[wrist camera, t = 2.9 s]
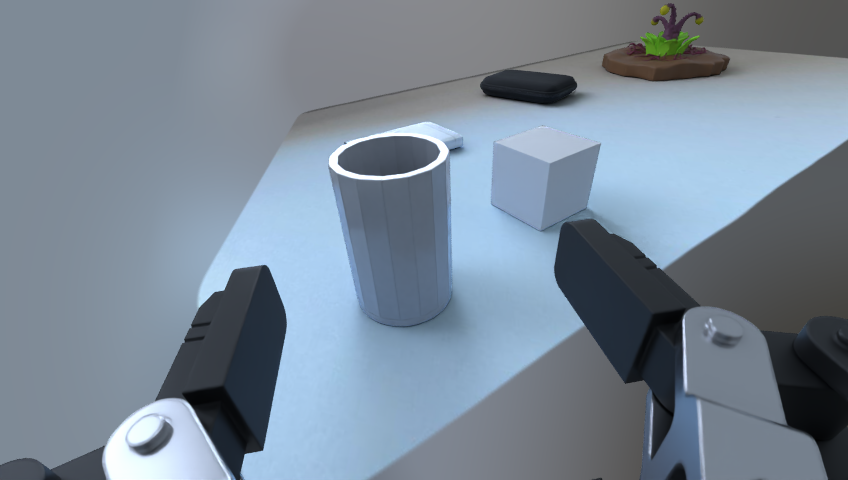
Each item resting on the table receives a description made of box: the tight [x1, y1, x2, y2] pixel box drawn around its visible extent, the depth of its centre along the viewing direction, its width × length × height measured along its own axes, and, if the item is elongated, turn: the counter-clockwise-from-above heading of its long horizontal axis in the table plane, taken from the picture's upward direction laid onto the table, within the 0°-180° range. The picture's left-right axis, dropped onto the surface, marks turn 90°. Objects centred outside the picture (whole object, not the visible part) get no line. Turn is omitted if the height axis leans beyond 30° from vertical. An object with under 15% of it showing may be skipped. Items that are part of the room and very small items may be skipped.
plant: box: [602, 3, 730, 81], centre depth 72 cm, size 20×20×11 cm
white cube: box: [491, 125, 601, 231], centre depth 32 cm, size 6×6×6 cm
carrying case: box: [480, 70, 577, 104], centre depth 64 cm, size 11×3×15 cm
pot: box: [328, 133, 452, 326], centre depth 23 cm, size 6×6×10 cm
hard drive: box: [344, 121, 463, 150], centre depth 47 cm, size 2×8×12 cm
